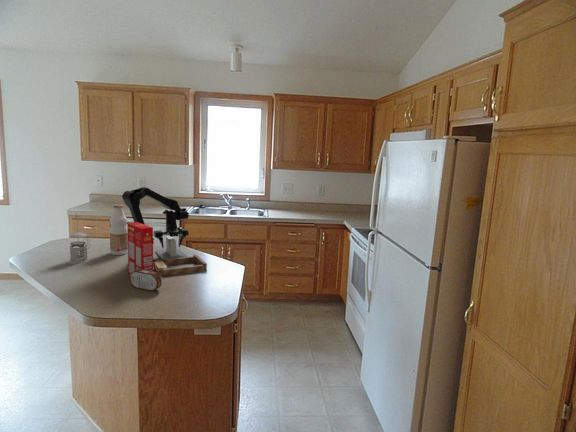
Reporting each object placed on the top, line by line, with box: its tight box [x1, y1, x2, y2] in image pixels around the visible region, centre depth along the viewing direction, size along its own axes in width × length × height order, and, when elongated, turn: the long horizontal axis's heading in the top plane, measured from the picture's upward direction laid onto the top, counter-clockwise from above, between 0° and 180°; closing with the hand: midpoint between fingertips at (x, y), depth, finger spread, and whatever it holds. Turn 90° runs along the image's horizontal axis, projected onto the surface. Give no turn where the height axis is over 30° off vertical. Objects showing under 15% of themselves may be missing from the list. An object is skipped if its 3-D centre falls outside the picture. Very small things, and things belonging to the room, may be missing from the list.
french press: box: [68, 214, 91, 265], centre depth 198 cm, size 10×12×25 cm
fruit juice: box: [109, 204, 128, 256], centre depth 215 cm, size 9×9×28 cm
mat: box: [155, 248, 188, 260], centre depth 219 cm, size 14×18×1 cm
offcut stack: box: [154, 261, 168, 276], centre depth 191 cm, size 4×13×4 cm, turn 28°
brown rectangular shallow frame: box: [155, 254, 208, 277], centre depth 196 cm, size 22×18×4 cm
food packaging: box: [126, 222, 154, 275], centre depth 179 cm, size 15×5×25 cm, turn 47°
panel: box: [165, 235, 177, 257], centre depth 218 cm, size 3×12×9 cm, turn 31°
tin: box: [129, 269, 163, 292], centre depth 165 cm, size 15×3×8 cm, turn 71°
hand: (171, 247), depth 218 cm, fingers open, 9 cm apart
